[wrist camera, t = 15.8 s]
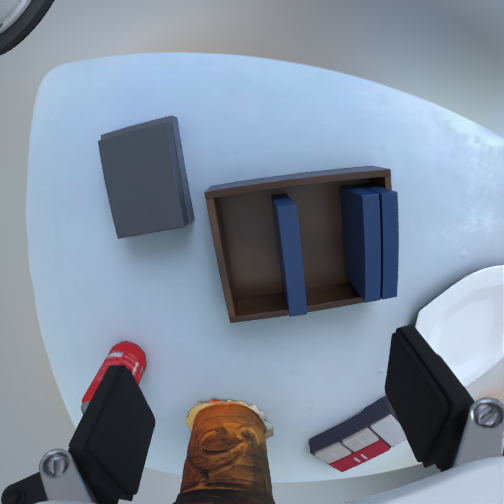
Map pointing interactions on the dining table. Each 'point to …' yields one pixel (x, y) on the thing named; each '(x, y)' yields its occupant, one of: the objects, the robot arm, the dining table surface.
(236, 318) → the book box
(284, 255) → the blue book
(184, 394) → the dining table surface
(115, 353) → the beverage can
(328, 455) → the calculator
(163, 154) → the grey books
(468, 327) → the plate
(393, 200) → the blue books
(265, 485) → the vessel
